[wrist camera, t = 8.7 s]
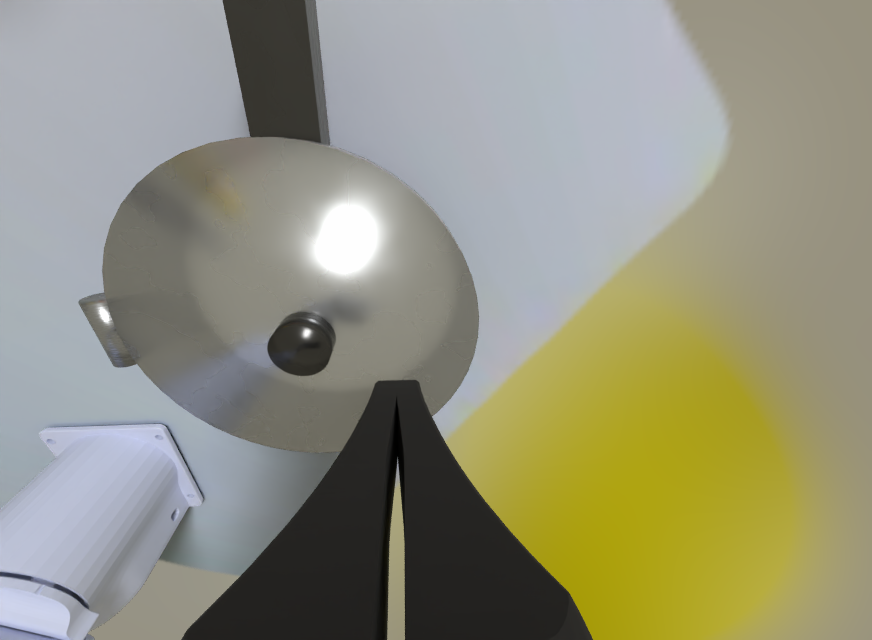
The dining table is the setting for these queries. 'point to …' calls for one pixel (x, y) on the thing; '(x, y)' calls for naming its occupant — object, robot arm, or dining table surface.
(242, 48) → the cooker pot
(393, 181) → the cooker lid
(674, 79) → the dining table surface
